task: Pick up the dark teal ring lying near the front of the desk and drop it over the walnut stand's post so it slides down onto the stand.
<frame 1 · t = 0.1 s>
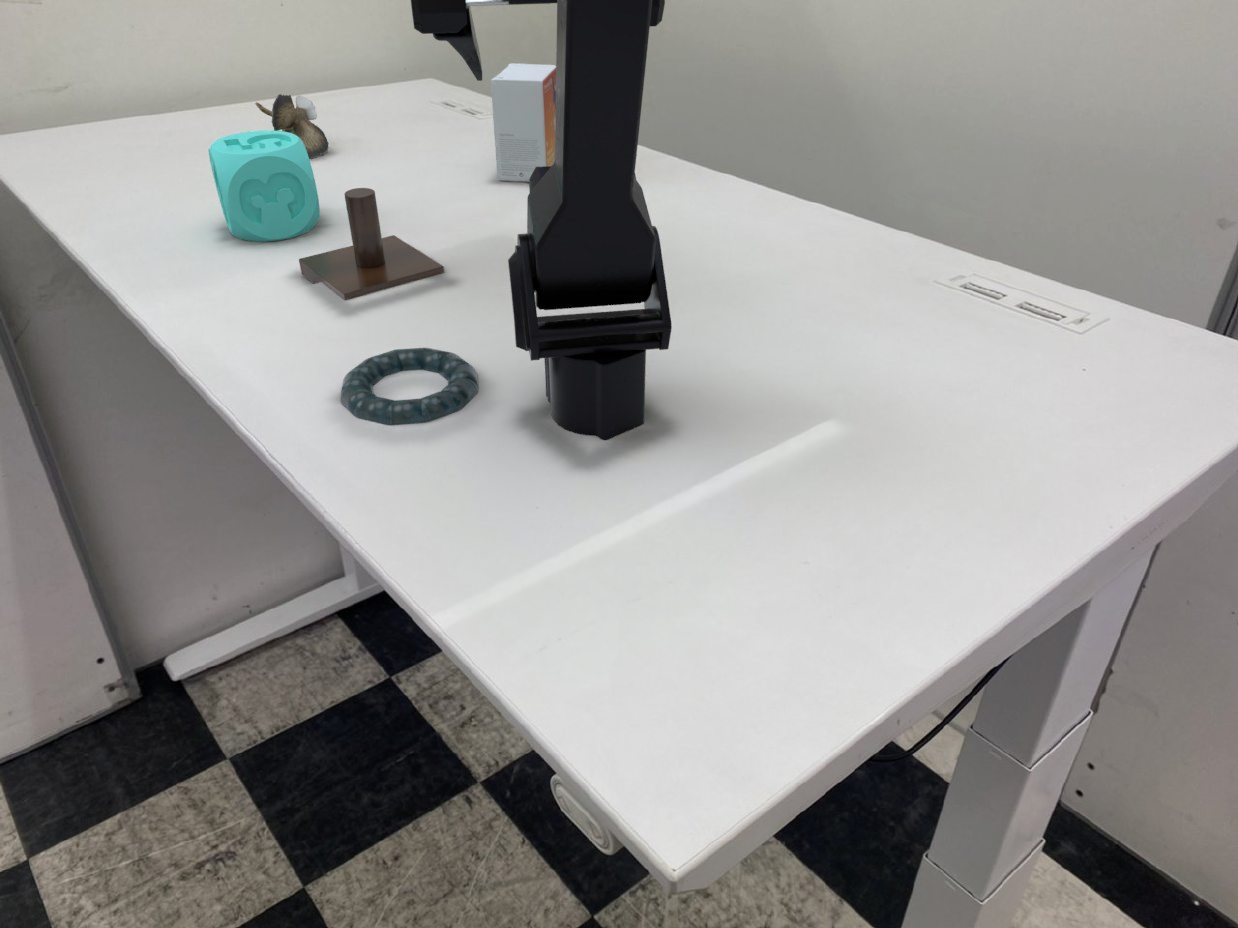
hand: (534, 74, 77), 15 cm above the table, tool tilted 35°, fingers open, 9 cm apart
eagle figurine: (298, 150, 110), on the table
small box: (530, 173, 103), on the table
stand: (373, 279, 79), on the table
decorative dice: (274, 228, 89), on the table
ring: (410, 387, 62), point 1 cm above the table
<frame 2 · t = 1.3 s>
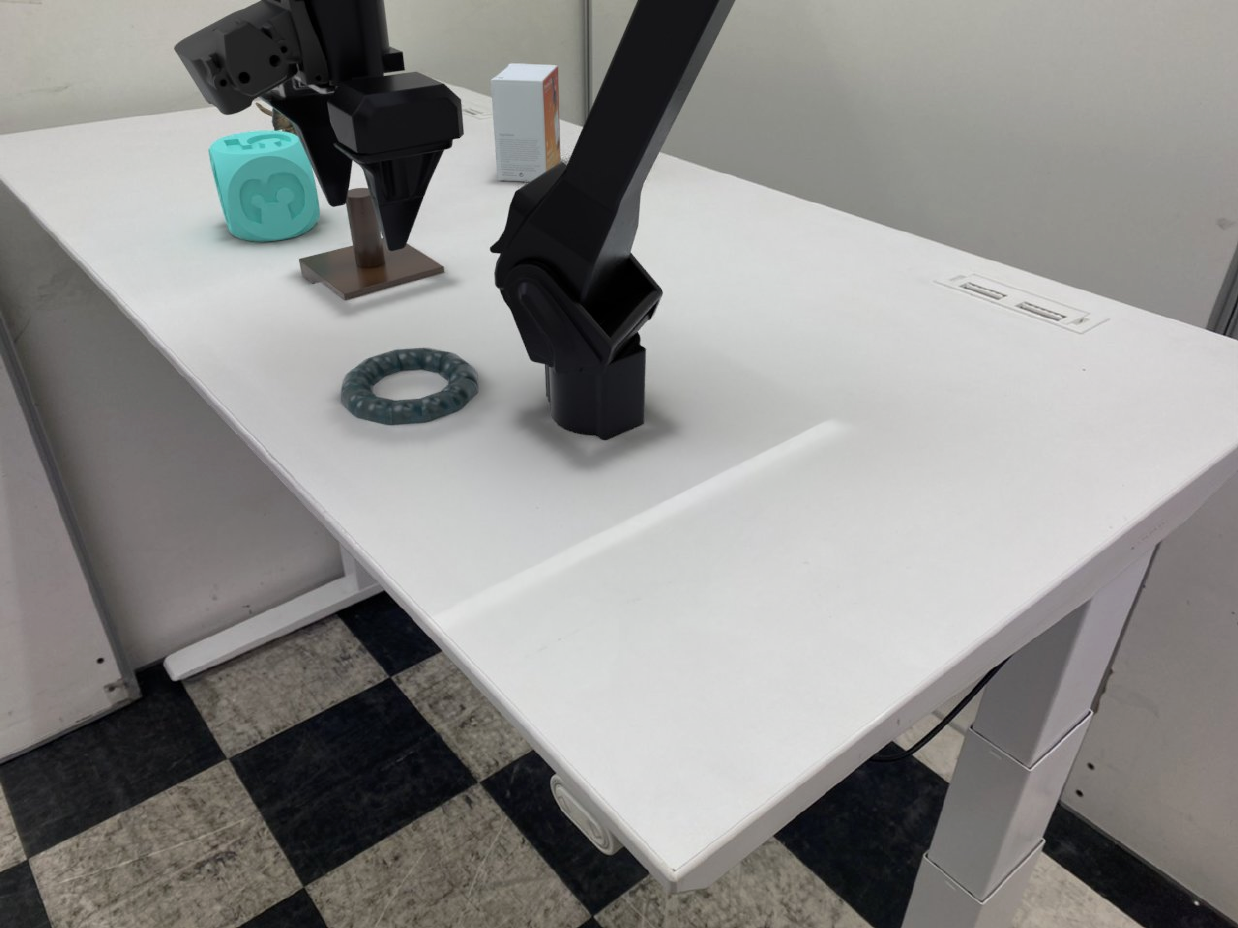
hand: (365, 226, 59), 11 cm above the table, tool pointing down, fingers open, 9 cm apart
nothing on the table moved.
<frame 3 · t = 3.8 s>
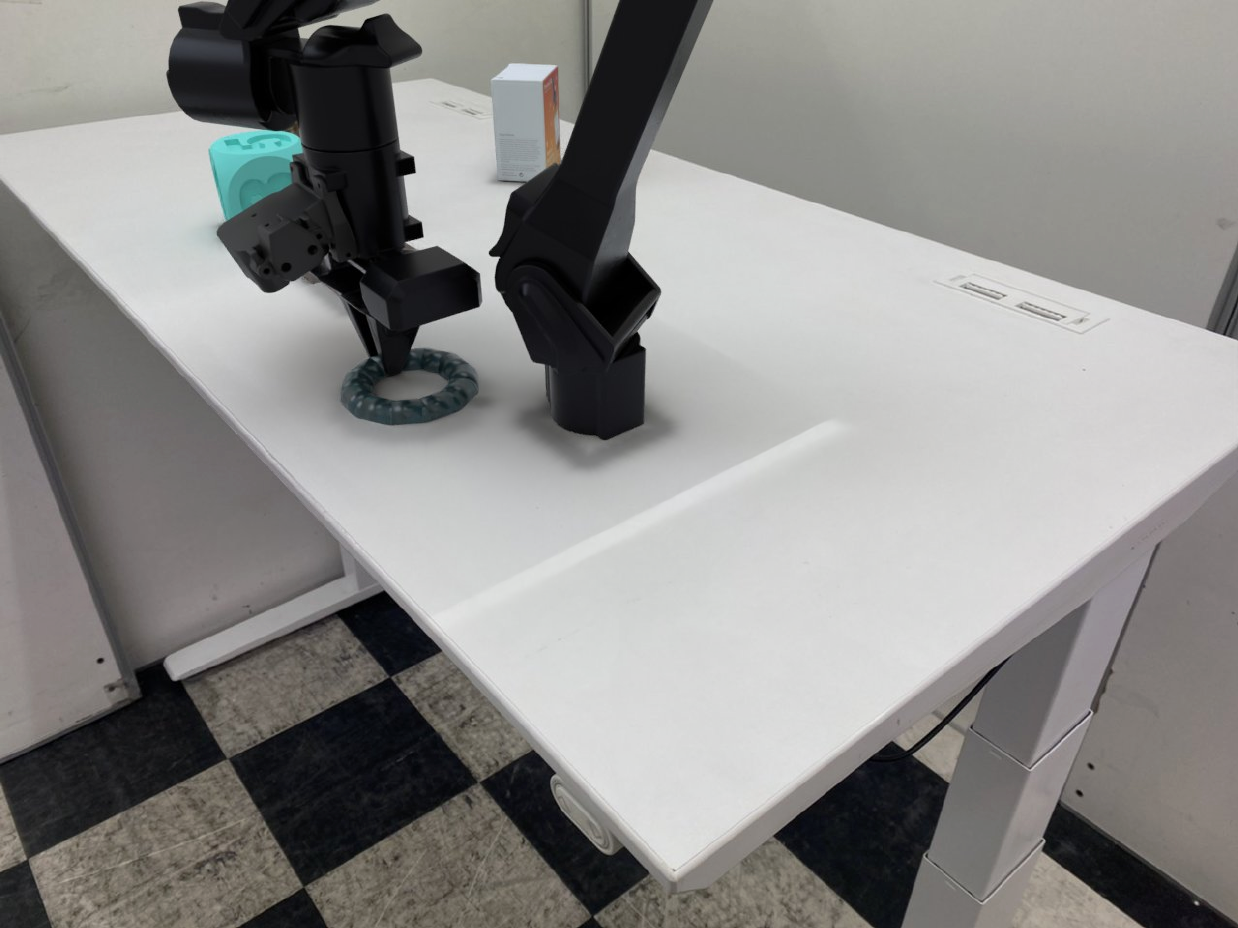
hand: (386, 367, 64), 1 cm above the table, tool pointing down, fingers closed on ring, 2 cm apart
ring: (410, 387, 62), point 1 cm above the table, touching gripper
everything else where it was.
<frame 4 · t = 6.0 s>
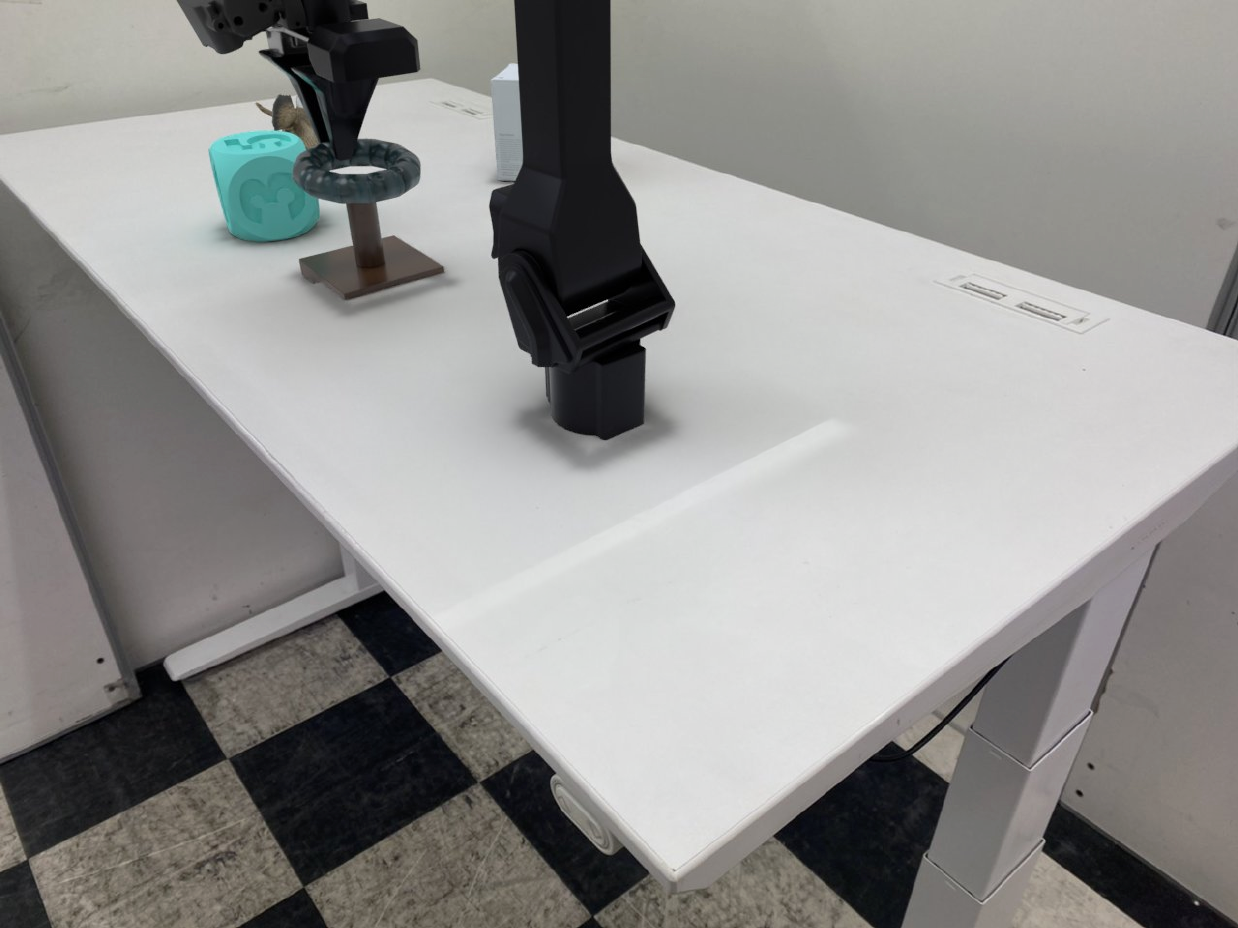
hand: (337, 155, 70), 11 cm above the table, tool pointing down, fingers closed on ring
ring: (357, 170, 68), point 11 cm above the table, touching gripper
everything else where it was.
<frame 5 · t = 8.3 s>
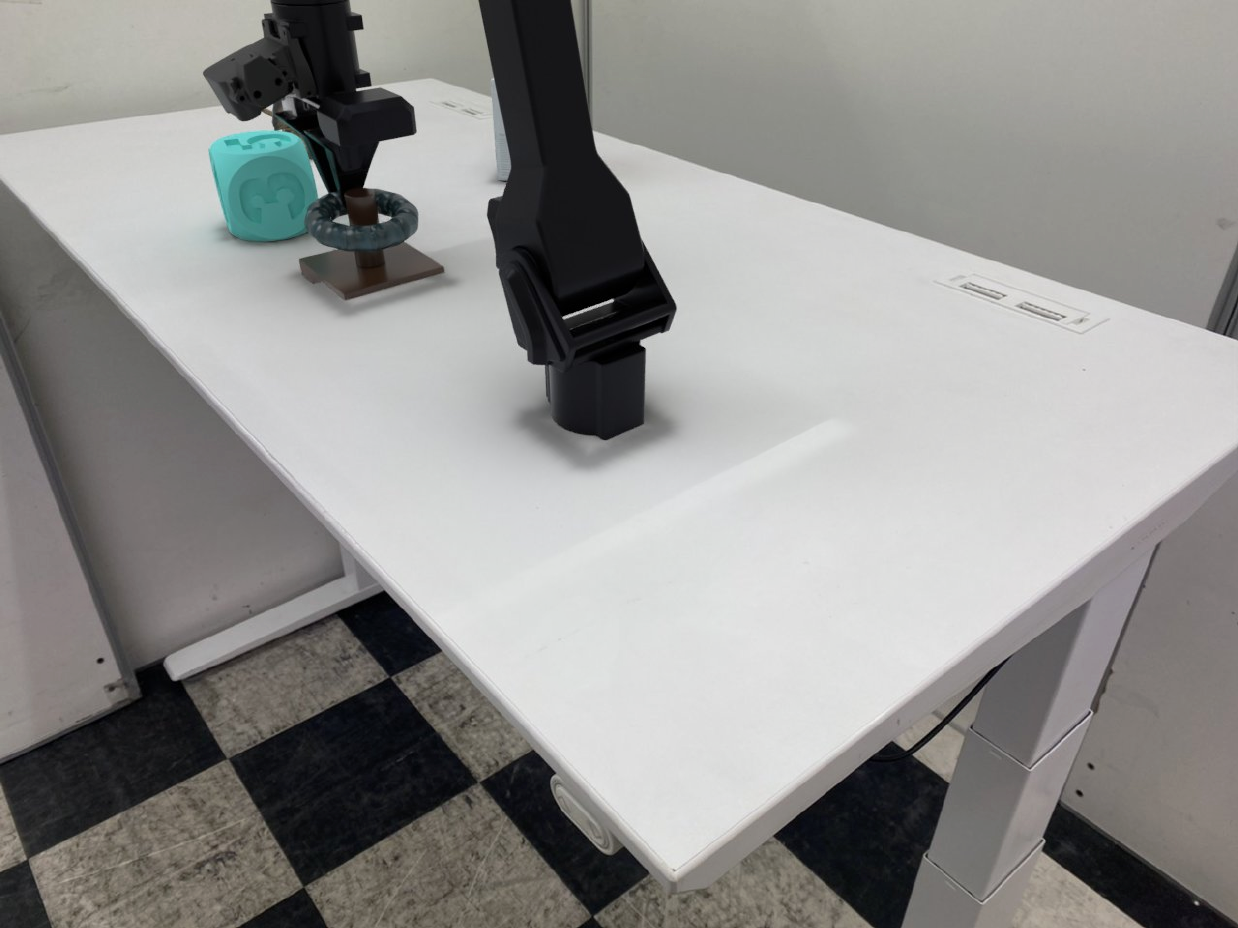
hand: (344, 204, 78), 6 cm above the table, tool pointing down, fingers closed on ring
ring: (362, 219, 76), point 5 cm above the table, tilted 6°, touching gripper
everything else where it was.
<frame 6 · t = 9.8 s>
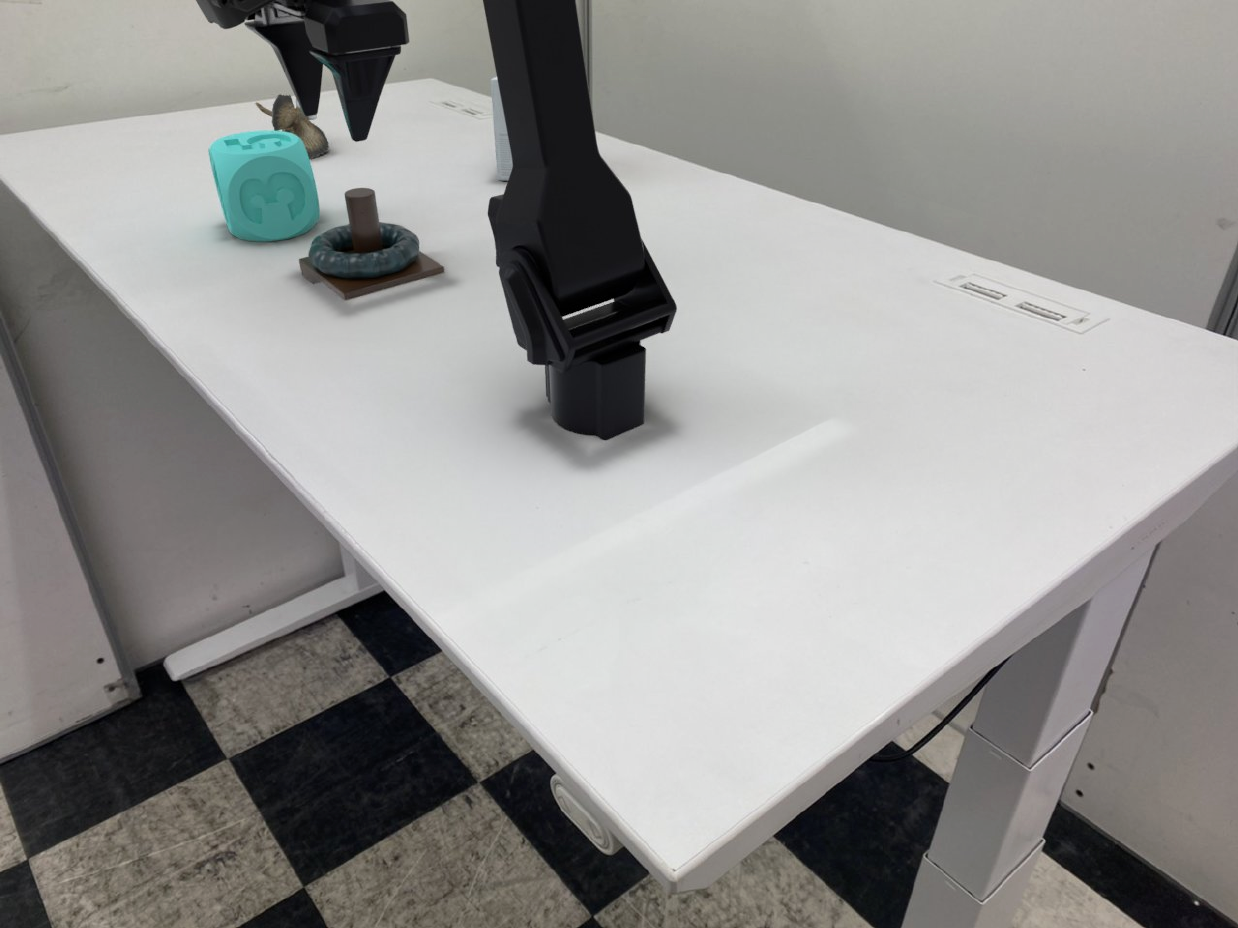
hand: (334, 127, 75), 12 cm above the table, tool pointing down, fingers open, 9 cm apart
ring: (365, 249, 78), point 2 cm above the table, touching stand
everything else where it was.
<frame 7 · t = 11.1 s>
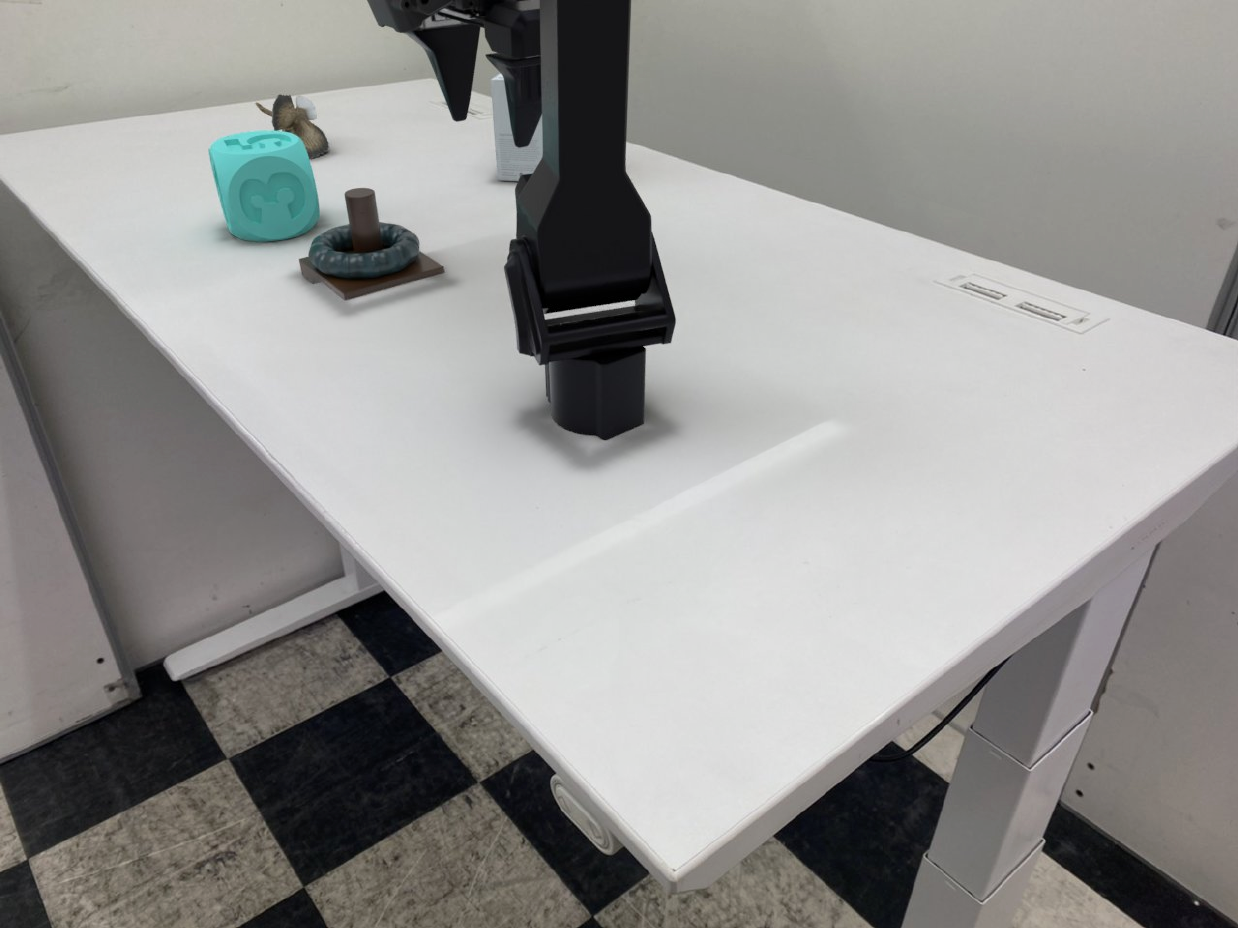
hand: (489, 133, 73), 12 cm above the table, tool pointing down, fingers open, 9 cm apart
nothing on the table moved.
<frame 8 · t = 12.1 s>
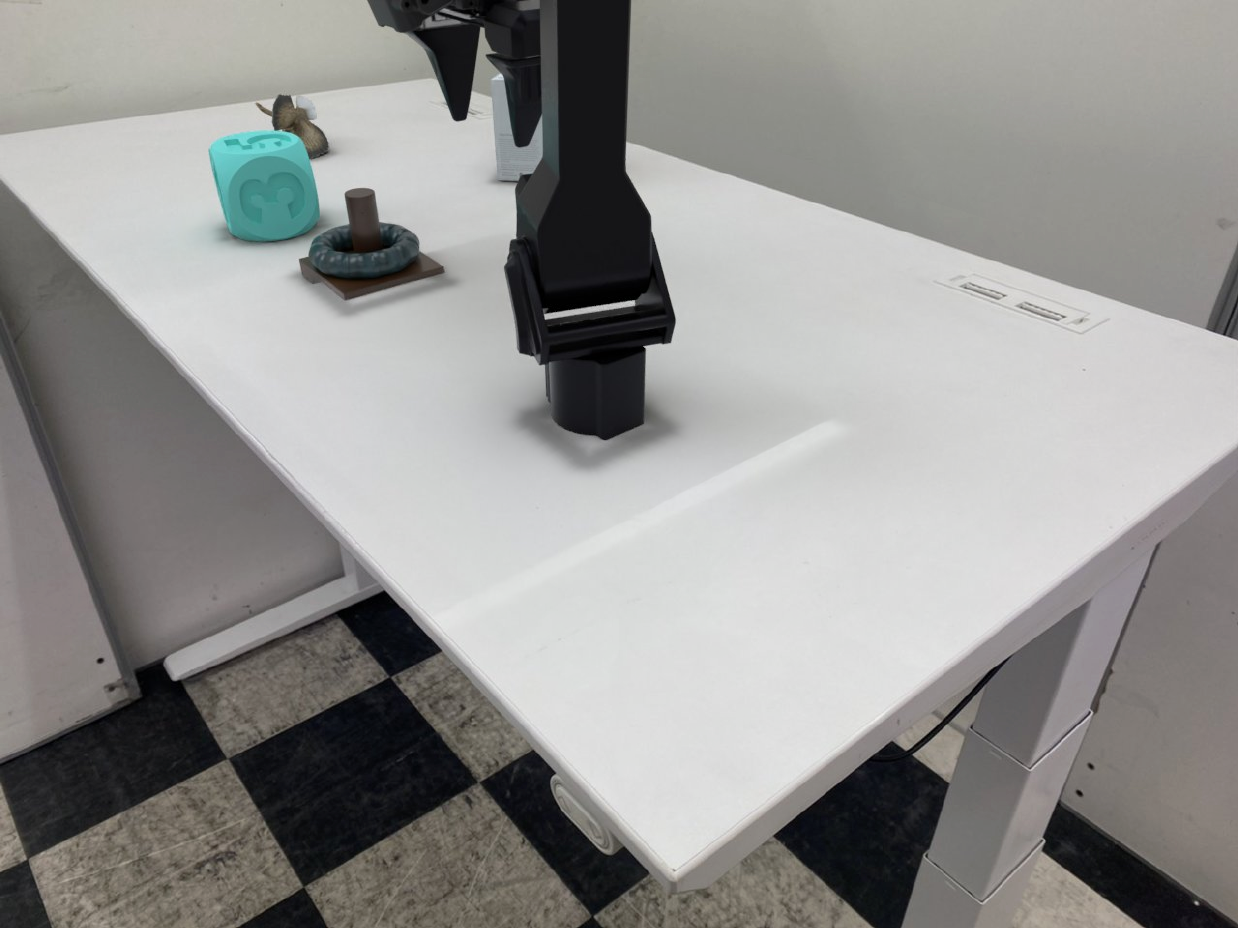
hand: (489, 133, 73), 12 cm above the table, tool pointing down, fingers open, 9 cm apart
nothing on the table moved.
at the end: ring 0.6 cm off-centre on the stand, point 2.5 cm above the stand's base; the gripper is holding nothing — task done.
